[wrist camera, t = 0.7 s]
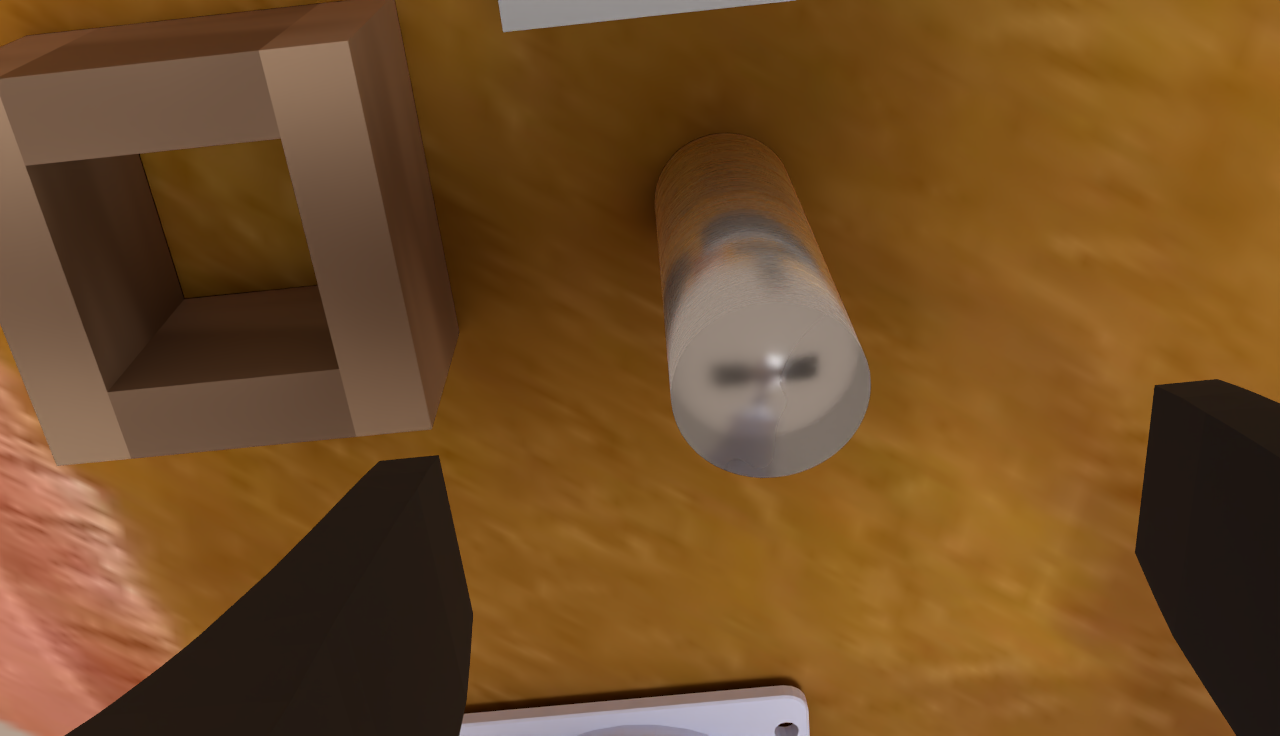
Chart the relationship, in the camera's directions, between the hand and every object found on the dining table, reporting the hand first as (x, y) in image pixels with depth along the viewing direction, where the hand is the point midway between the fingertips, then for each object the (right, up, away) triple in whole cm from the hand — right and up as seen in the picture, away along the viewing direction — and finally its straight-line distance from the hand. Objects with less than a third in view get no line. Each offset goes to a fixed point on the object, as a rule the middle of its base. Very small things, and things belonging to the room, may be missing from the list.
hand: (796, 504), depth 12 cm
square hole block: (-8, +4, +8) cm, 12 cm away
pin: (0, +4, +8) cm, 9 cm away
